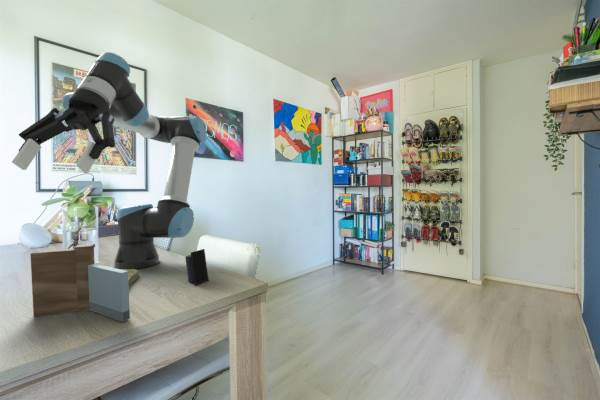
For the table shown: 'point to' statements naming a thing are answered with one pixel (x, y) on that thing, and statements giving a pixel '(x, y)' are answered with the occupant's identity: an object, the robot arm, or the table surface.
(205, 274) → the speaker
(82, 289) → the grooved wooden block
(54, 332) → the table surface
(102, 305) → the light blue flat panel
